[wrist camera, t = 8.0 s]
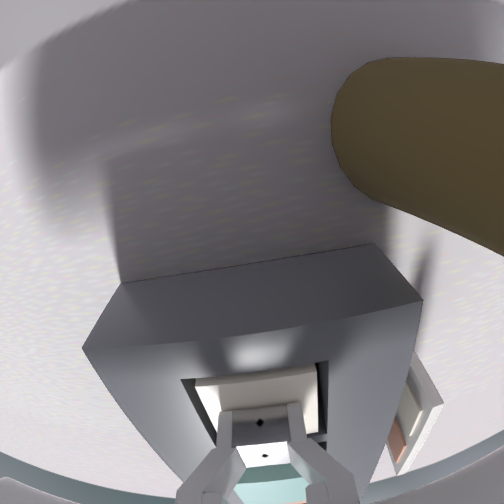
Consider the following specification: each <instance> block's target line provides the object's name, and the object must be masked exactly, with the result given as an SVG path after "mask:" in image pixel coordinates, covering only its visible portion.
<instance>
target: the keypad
mask: <svg viewBox="0 0 504 504" xmlns="http://www.w3.org/2000/svg"><path fill="white" fill-rule="evenodd" d="M422 305H423V299H422V298H421V297H420V296H419V294H418V293H417V292H416V291H415V289H414V288H413V287H412V286H411V285H410V283H409V282H408V281H407V280H406V279H405V278H404V276H403V275H402V274H401V273H400V272H399V271H398V269H397V268H396V267H395V266H394V265H393V264H392V263H391V261H390V260H389V259H388V258H387V257H386V256H385V255H384V253H383V252H382V251H381V250H380V249H379V248H378V247H377V246H376V245H375V244H369V245H363V246H357V247H351V248H345V249H339V250H333V251H327V252H321V253H315V254H309V255H303V256H297V257H291V258H284V259H278V260H272V261H266V262H259V263H253V264H247V265H240V266H234V267H228V268H221V269H215V270H208V271H202V272H195V273H189V274H182V275H176V276H169V277H162V278H156V279H149V280H142V281H135V282H128V283H122V284H120V285H119V287H118V288H117V290H116V291H115V293H114V295H113V296H112V298H111V299H110V301H109V303H108V304H107V306H106V308H105V309H104V311H103V313H102V314H101V316H100V317H99V319H98V321H97V323H96V324H95V326H94V328H93V329H92V331H91V333H90V334H89V336H88V338H87V340H86V341H85V343H84V345H83V347H82V349H83V351H84V353H85V355H86V356H87V358H88V360H89V361H90V363H91V364H92V366H93V368H94V369H95V371H96V372H97V374H98V376H99V377H100V379H101V380H102V382H103V383H104V385H105V386H106V388H107V389H108V391H109V392H110V394H111V395H112V396H113V398H114V399H115V401H116V402H117V404H118V405H119V406H120V408H121V409H122V410H123V412H124V413H125V414H126V416H127V417H128V418H129V420H130V421H131V422H132V424H133V425H134V426H135V428H136V429H137V430H138V431H139V433H140V434H141V435H142V436H143V438H144V439H145V440H146V441H147V442H148V444H149V445H150V446H151V447H152V448H153V450H154V451H155V452H156V453H157V454H158V455H159V457H160V458H161V459H162V460H163V461H164V462H165V463H166V464H167V465H168V467H169V468H170V469H171V470H172V471H173V472H174V473H175V474H176V475H177V476H178V477H179V478H180V479H181V480H182V481H183V482H185V481H186V480H187V478H188V477H189V476H190V475H191V474H192V473H193V471H194V470H195V469H196V468H197V467H198V465H199V464H200V463H201V462H202V461H203V459H204V458H205V457H206V456H207V455H208V453H209V452H210V451H211V450H212V449H214V448H216V444H217V431H216V429H215V428H214V426H213V424H212V422H211V420H210V418H209V415H208V413H207V411H206V409H205V407H204V405H203V403H202V401H201V399H200V397H199V395H198V392H197V390H196V388H195V383H196V378H203V377H215V376H225V375H235V374H244V373H252V372H260V371H267V370H274V369H281V368H287V367H293V366H299V365H305V364H311V363H315V367H316V371H317V397H318V432H315V433H309V434H307V439H309V438H312V439H313V440H314V441H315V442H316V443H317V444H318V445H319V446H321V447H322V448H323V449H324V450H325V451H326V452H327V453H328V454H330V455H331V456H332V457H333V458H334V459H335V460H336V461H338V462H339V463H340V464H341V465H342V466H343V467H345V468H346V469H347V470H348V471H349V472H351V473H352V474H353V475H354V480H355V484H356V488H357V492H358V497H359V498H362V497H363V495H364V493H365V491H366V488H367V486H368V484H369V482H370V480H371V478H372V475H373V473H374V471H375V468H376V466H377V464H378V461H379V459H380V456H381V454H382V451H383V449H384V446H385V443H386V445H387V448H388V451H389V454H390V457H391V460H392V463H393V466H394V469H395V472H396V475H397V476H399V475H401V474H404V473H406V472H407V470H408V469H409V467H410V465H411V464H412V462H413V461H414V459H415V457H416V456H417V454H418V452H419V450H420V449H421V447H422V445H423V444H424V442H425V440H426V438H427V436H428V435H429V433H430V431H431V429H432V427H433V425H434V423H435V421H436V419H437V417H438V415H439V413H440V411H441V409H442V407H443V405H444V402H443V400H442V398H441V396H440V394H439V393H438V391H437V389H436V387H435V385H434V384H433V382H432V380H431V378H430V376H429V375H428V373H427V371H426V369H425V368H424V366H423V364H422V362H421V361H420V359H419V357H418V356H417V354H416V352H415V351H414V346H415V341H416V337H417V332H418V327H419V322H420V316H421V311H422ZM226 501H227V502H228V503H229V504H244V503H243V502H242V500H241V499H240V498H239V496H238V495H237V493H236V492H235V491H234V489H233V491H232V492H231V494H230V495H229V497H228V498H227V500H226ZM303 504H306V503H303Z"/></svg>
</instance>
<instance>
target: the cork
mask: <svg viewBox="0 0 504 504" xmlns="http://www.w3.org/2000/svg"><path fill="white" fill-rule="evenodd" d="M331 130H332V144H333V147H334V150H335V153H336V156H337V159H338V162H339V165H340V167H341V168H342V170H343V171H344V173H345V174H346V175H347V177H348V178H349V180H350V181H351V182H352V184H353V185H354V186H355V187H356V188H357V189H359V190H360V191H361V192H363V193H364V194H366V195H367V196H368V197H369V198H371V199H373V200H375V201H378V202H381V203H383V204H386V205H388V206H391V207H394V208H396V209H399V210H401V211H404V212H406V213H409V214H411V215H414V216H416V217H419V218H421V219H423V220H426V221H428V222H431V223H433V224H435V225H438V226H440V227H442V228H444V229H447V230H449V231H451V232H453V233H456V234H458V235H460V236H462V237H464V238H467V239H469V240H471V241H473V242H475V243H477V244H479V245H481V246H484V247H486V248H488V249H490V250H492V251H494V252H496V253H498V254H500V255H502V256H504V64H500V63H493V62H485V61H475V60H464V59H450V58H386V59H382V60H377V61H373V62H368V63H367V64H365V65H364V66H362V67H361V68H359V69H358V70H356V71H355V72H354V73H352V74H351V75H350V76H349V77H348V79H347V80H346V82H345V83H344V85H343V86H342V88H341V89H340V91H339V92H338V94H337V97H336V100H335V104H334V108H333V112H332V116H331Z"/></svg>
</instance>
